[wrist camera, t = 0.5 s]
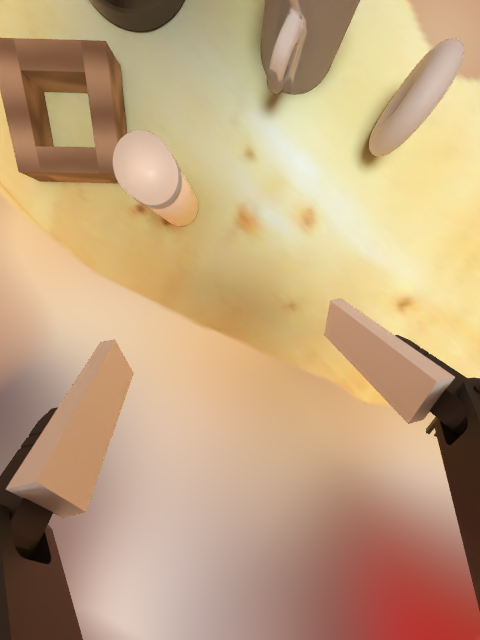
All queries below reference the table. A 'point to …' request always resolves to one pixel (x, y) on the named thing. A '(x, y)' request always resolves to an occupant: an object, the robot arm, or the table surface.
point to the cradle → (61, 76)
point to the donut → (417, 97)
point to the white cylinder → (154, 177)
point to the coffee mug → (302, 41)
